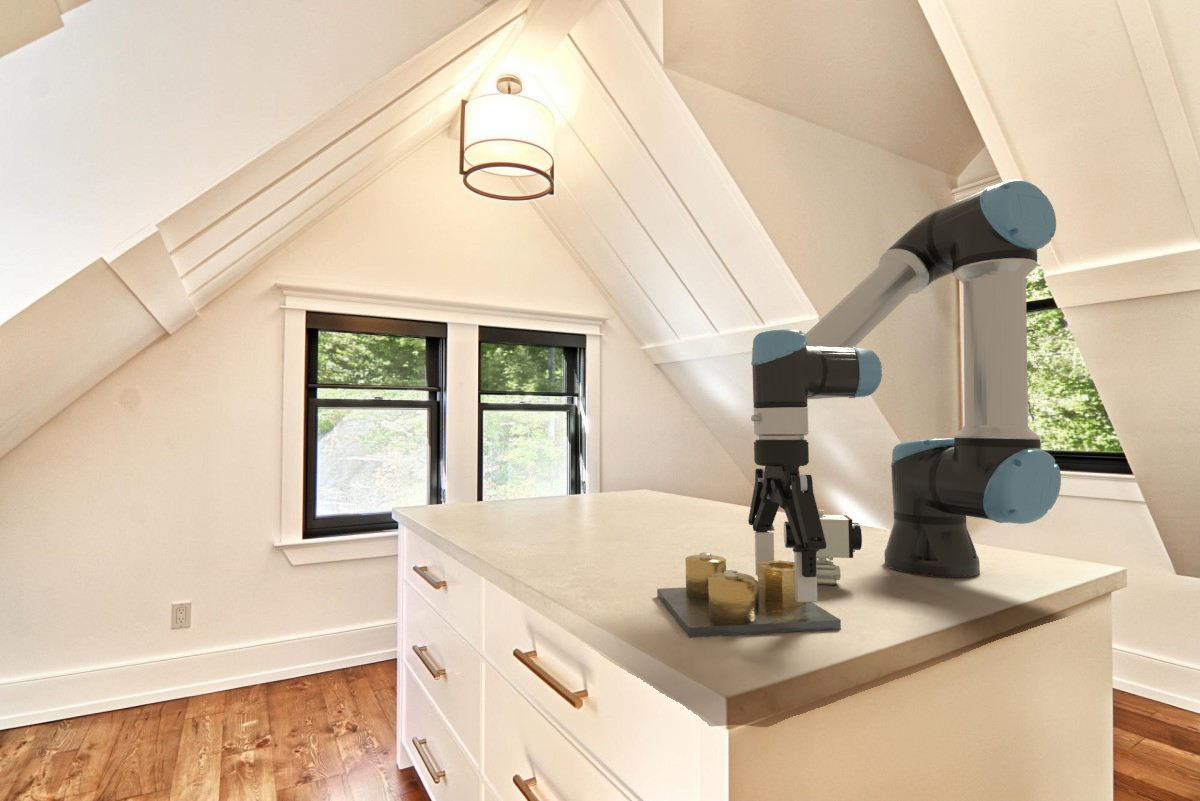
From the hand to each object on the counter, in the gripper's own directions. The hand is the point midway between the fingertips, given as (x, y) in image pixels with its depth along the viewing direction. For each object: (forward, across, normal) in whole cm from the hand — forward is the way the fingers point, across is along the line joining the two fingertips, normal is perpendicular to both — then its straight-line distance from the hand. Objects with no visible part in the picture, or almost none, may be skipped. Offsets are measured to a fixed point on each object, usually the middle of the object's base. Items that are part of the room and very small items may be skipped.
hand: (784, 587), depth 85 cm
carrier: (+3, 0, -6) cm, 7 cm away
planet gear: (+2, 0, 0) cm, 2 cm away
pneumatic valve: (+3, -13, +12) cm, 18 cm away
